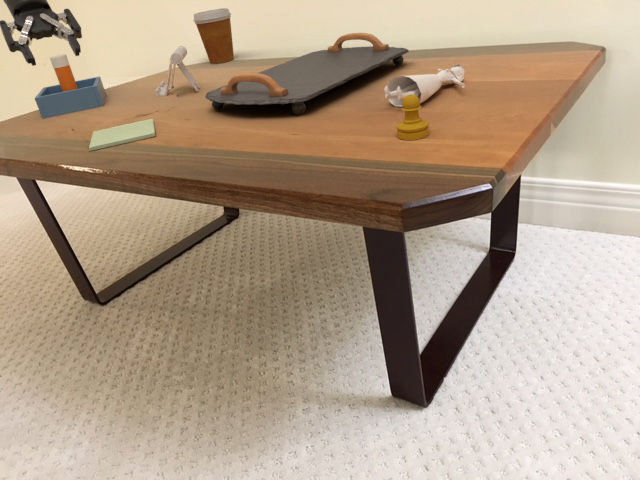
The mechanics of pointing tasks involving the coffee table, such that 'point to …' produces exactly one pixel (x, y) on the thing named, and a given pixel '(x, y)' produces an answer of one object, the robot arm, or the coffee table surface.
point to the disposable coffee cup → (216, 34)
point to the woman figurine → (422, 84)
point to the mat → (122, 134)
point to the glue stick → (63, 72)
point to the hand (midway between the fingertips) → (56, 57)
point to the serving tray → (306, 75)
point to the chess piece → (412, 120)
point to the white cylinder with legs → (175, 59)
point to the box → (71, 98)
